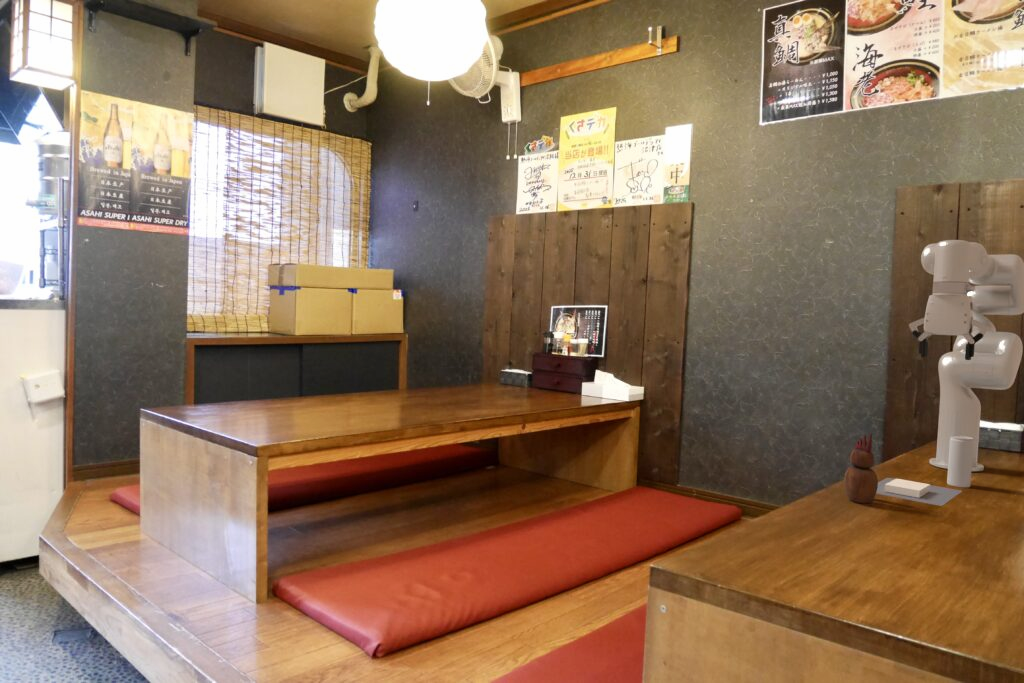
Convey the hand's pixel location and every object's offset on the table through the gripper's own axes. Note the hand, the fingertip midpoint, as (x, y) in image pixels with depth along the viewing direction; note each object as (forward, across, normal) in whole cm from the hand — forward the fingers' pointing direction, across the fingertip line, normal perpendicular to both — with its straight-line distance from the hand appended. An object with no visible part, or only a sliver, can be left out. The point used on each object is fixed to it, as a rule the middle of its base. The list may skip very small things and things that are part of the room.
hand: (945, 358), depth 177 cm
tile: (+29, 0, +21) cm, 36 cm away
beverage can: (+31, -6, +7) cm, 32 cm away
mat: (+30, 0, +23) cm, 38 cm away
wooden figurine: (+31, +6, +42) cm, 52 cm away
